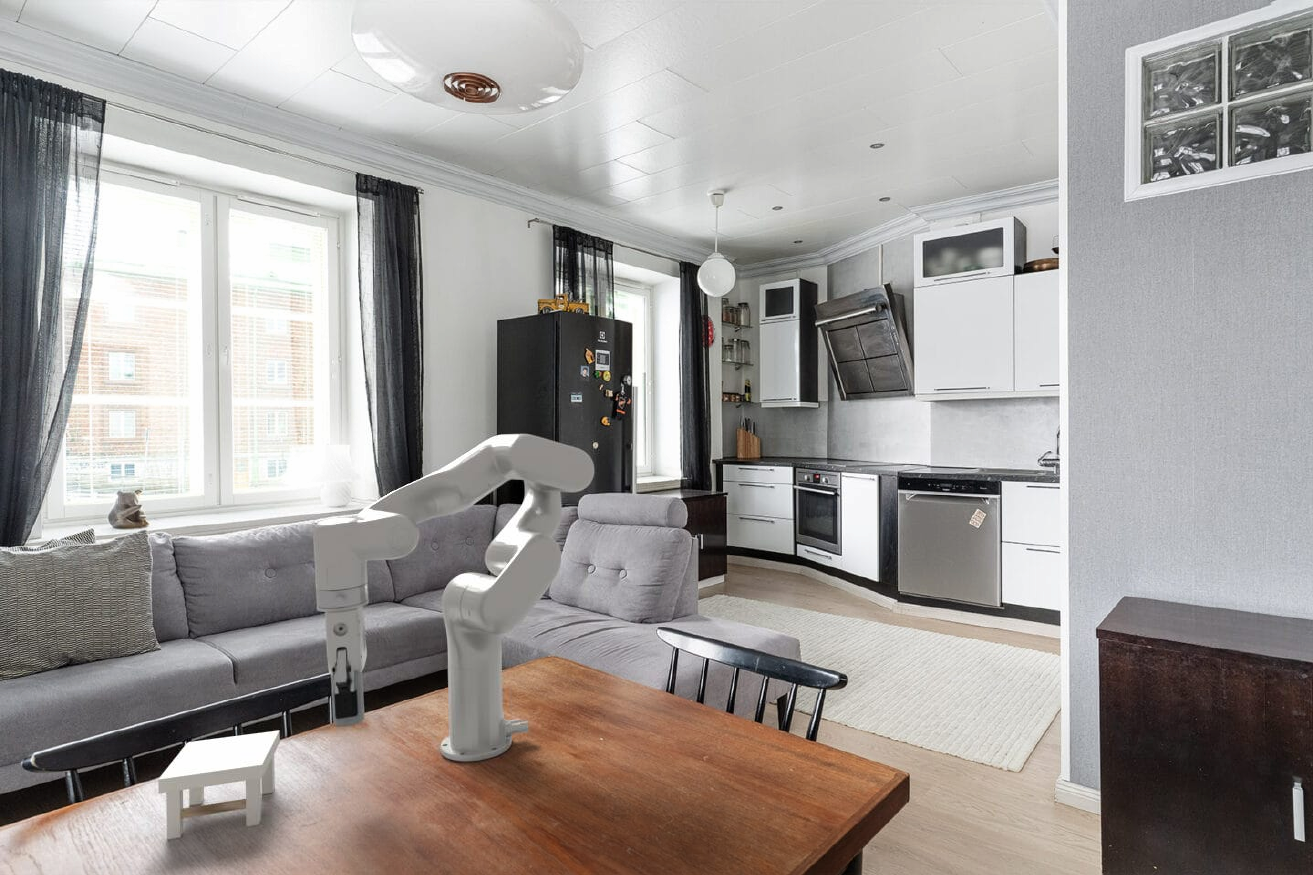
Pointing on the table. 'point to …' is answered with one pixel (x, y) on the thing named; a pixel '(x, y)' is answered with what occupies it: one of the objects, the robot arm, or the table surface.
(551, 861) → the table surface
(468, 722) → the robot arm
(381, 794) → the table surface
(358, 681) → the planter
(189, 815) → the stool
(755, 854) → the table surface
